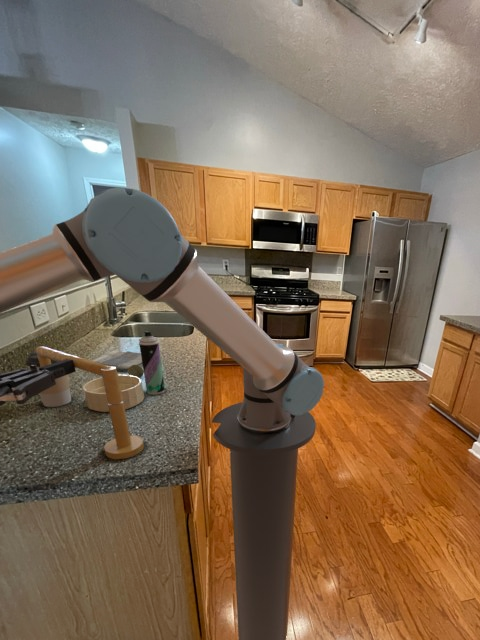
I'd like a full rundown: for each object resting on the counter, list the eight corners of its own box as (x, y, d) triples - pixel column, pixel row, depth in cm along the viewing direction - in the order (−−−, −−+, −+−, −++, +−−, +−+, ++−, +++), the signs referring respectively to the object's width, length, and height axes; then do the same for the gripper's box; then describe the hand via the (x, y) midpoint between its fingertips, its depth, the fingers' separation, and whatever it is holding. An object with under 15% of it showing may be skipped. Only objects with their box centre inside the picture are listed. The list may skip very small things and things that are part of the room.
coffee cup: (78, 394, 99) (66, 348, 93) (72, 406, 92) (59, 356, 86) (43, 397, 96) (29, 349, 90) (34, 410, 89) (17, 358, 82)
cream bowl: (153, 394, 102) (151, 377, 100) (124, 415, 89) (120, 395, 86) (110, 390, 104) (106, 373, 101) (74, 410, 90) (69, 390, 88)
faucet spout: (125, 400, 69) (118, 366, 66) (113, 405, 67) (105, 370, 64) (53, 374, 81) (44, 344, 78) (40, 377, 79) (31, 346, 76)
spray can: (143, 393, 103) (133, 332, 95) (155, 387, 108) (146, 328, 100) (157, 396, 102) (148, 334, 93) (168, 390, 106) (160, 330, 98)
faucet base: (150, 442, 77) (143, 397, 72) (130, 461, 70) (121, 412, 65) (120, 438, 78) (110, 394, 73) (97, 457, 70) (85, 408, 66)
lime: (146, 378, 115) (144, 365, 113) (132, 381, 112) (130, 367, 110) (140, 374, 118) (138, 362, 116) (127, 377, 115) (125, 364, 112)
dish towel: (129, 372, 119) (128, 364, 118) (87, 367, 122) (85, 359, 120) (158, 359, 136) (157, 351, 135) (120, 355, 138) (119, 347, 137)
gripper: (-84, 426, 51) (50, 377, 72) (-18, 438, 48) (100, 384, 70) (-106, 382, 48) (41, 345, 69) (-37, 393, 45) (93, 351, 67)
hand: (71, 365), depth 69 cm, fingers closed
